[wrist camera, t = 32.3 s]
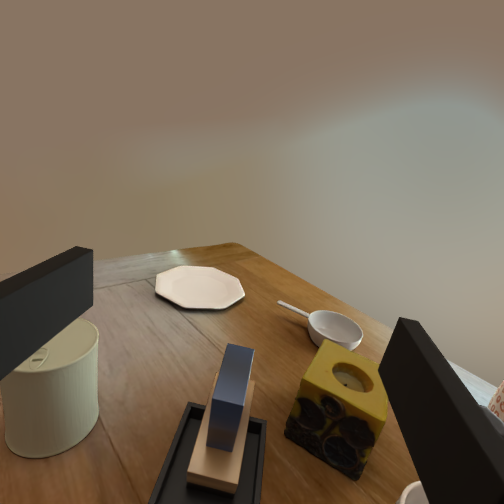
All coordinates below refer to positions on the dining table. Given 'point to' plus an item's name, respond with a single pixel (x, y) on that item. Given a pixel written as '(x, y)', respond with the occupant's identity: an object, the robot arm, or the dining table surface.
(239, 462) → the blue block with base
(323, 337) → the small pan
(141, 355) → the dining table surface
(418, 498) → the drinking glass
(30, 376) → the can
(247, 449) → the tray
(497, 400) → the patterned vase
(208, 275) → the plate
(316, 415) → the candle
